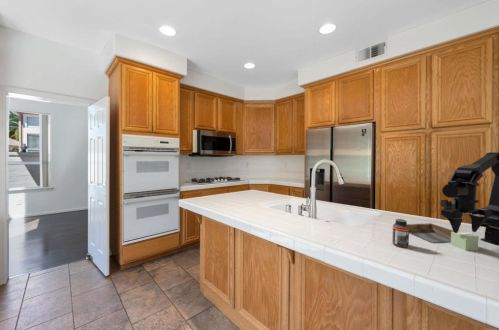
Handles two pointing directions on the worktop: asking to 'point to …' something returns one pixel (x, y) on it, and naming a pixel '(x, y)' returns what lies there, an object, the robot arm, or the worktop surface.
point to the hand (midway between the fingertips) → (464, 232)
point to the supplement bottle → (400, 233)
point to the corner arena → (430, 232)
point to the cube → (464, 240)
